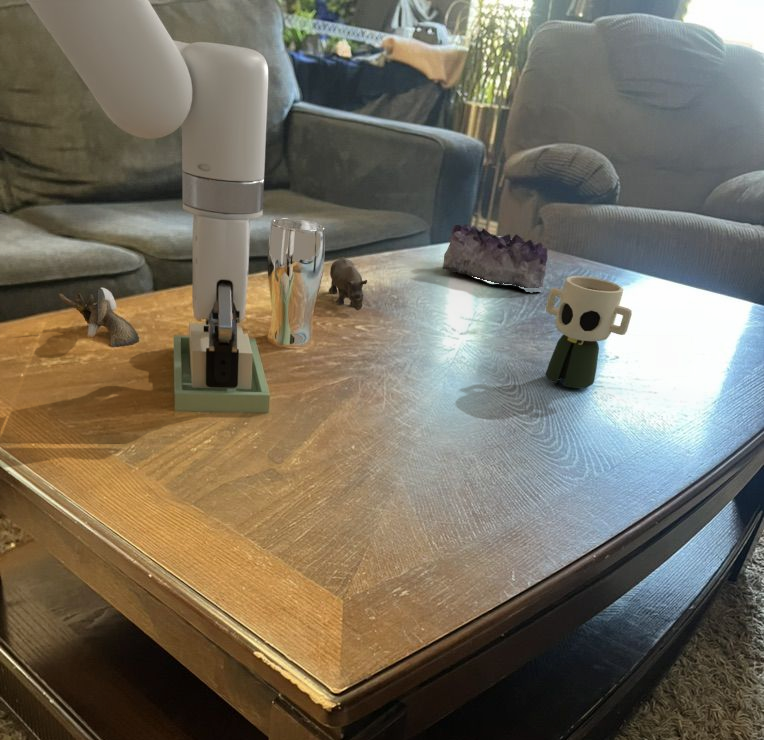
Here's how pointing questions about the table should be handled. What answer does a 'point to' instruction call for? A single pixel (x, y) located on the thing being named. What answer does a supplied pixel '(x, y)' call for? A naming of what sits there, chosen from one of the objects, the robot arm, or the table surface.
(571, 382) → the character mug
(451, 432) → the table surface
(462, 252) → the geode
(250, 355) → the light grey rectangular block
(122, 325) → the deer head bust
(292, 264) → the beer glass
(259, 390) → the frame tray
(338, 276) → the rhino figurine
